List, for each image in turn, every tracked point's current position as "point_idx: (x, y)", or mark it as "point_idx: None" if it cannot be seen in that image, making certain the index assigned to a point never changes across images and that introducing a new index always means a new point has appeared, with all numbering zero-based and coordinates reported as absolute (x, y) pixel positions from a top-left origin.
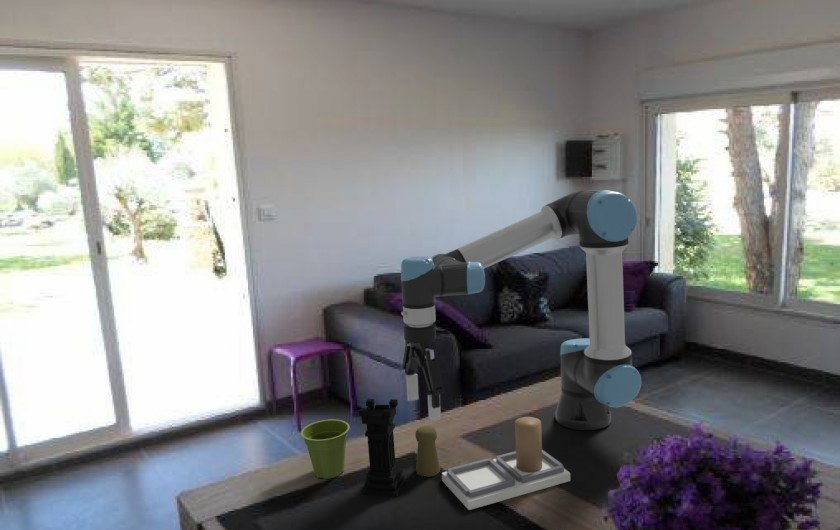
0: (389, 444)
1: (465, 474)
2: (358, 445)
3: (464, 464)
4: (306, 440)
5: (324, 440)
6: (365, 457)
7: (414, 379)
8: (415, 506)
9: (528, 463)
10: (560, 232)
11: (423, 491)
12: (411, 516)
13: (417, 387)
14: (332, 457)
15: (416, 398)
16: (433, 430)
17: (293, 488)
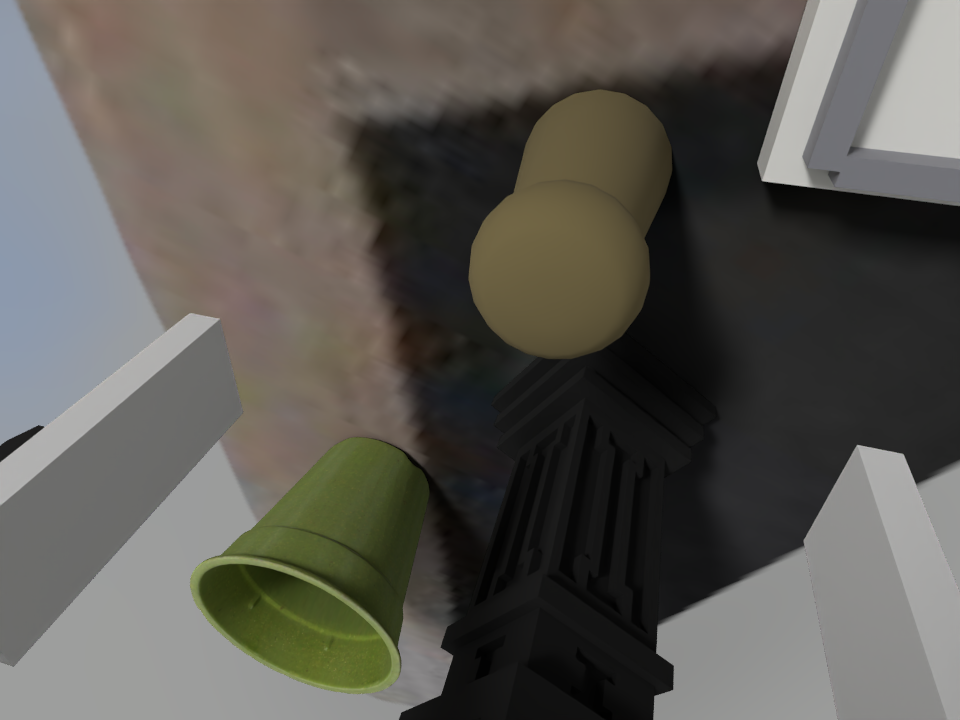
0: (622, 570)
1: (928, 47)
2: (199, 310)
3: (865, 10)
4: (341, 671)
5: (398, 676)
6: (317, 339)
7: (26, 537)
8: (859, 394)
9: None
10: None
11: (772, 301)
12: (914, 444)
13: (115, 416)
14: (411, 565)
15: (215, 349)
16: (611, 260)
17: (432, 574)
